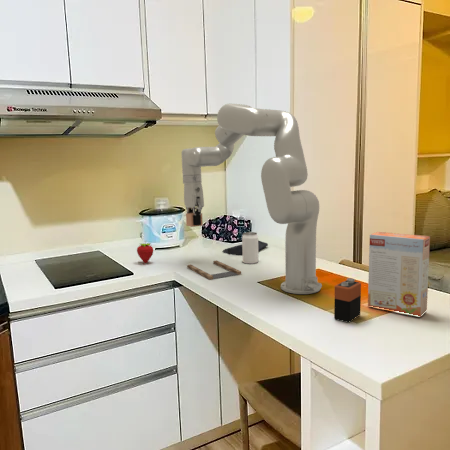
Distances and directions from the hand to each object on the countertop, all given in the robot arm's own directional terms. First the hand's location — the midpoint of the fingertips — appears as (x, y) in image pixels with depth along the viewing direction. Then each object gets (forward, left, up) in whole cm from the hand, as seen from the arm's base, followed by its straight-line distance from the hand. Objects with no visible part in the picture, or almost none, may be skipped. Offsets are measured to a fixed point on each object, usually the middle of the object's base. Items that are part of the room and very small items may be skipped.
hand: (194, 223), depth 171 cm
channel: (-17, 0, -16) cm, 23 cm away
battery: (-78, -9, -16) cm, 80 cm away
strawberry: (+10, +18, -16) cm, 26 cm away
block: (0, 0, -1) cm, 1 cm away
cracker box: (-81, -24, -16) cm, 86 cm away
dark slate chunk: (+8, -29, -17) cm, 35 cm away
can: (-13, -19, -16) cm, 28 cm away
